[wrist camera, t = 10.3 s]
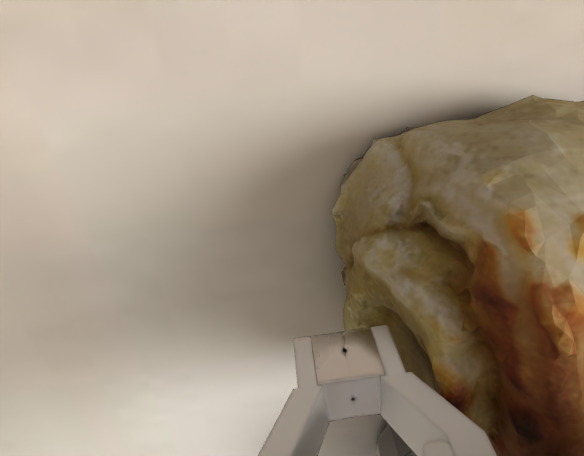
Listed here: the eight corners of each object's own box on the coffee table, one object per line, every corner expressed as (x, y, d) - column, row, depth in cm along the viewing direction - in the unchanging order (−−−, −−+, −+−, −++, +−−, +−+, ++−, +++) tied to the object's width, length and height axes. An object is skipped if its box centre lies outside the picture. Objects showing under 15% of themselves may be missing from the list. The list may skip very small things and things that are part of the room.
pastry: (251, 225, 13) (244, 462, 7) (603, -44, 10) (1360, -98, 3) (429, 386, 20) (513, 587, 13) (680, 264, 16) (971, 460, 10)
